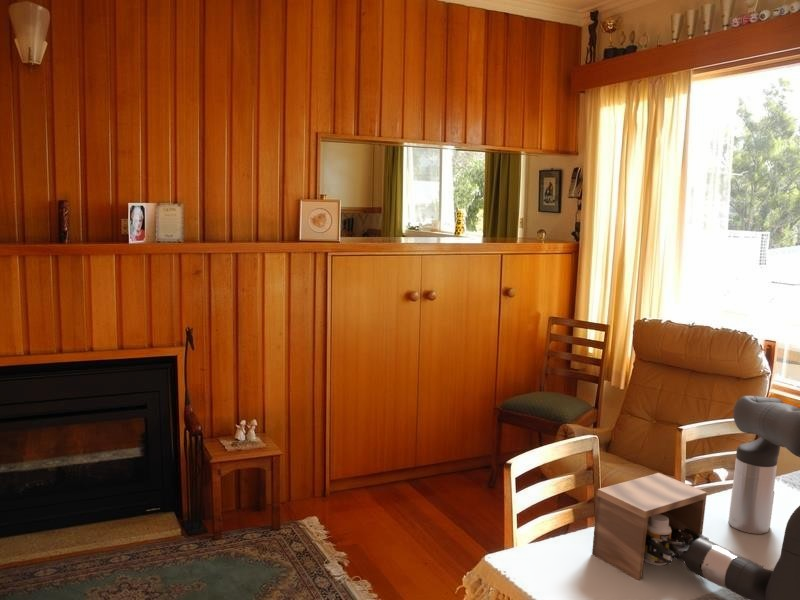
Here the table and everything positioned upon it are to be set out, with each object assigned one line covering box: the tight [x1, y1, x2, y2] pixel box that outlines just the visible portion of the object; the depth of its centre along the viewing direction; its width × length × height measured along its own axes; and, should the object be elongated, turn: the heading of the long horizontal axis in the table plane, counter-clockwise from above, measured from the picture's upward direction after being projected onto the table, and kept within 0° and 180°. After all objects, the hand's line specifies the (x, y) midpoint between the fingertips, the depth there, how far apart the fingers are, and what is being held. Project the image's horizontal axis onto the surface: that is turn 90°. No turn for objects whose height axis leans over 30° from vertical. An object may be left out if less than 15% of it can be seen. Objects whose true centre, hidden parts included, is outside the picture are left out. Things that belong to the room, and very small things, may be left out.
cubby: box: [591, 472, 708, 581], centre depth 171 cm, size 21×13×16 cm, turn 124°
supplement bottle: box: [644, 514, 672, 567], centre depth 169 cm, size 6×6×10 cm
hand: (650, 531), depth 171 cm, fingers open, 7 cm apart
